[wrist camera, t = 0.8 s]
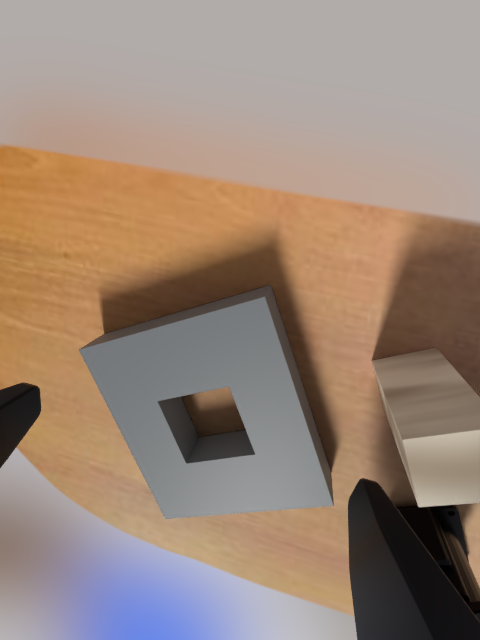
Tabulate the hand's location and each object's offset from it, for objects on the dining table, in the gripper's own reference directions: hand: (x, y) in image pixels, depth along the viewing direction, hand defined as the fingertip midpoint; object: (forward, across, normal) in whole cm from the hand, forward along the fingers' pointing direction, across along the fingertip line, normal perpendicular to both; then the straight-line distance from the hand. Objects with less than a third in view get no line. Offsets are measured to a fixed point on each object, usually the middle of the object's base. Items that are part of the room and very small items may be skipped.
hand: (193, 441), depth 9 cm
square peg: (+14, -12, +4) cm, 18 cm away
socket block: (+14, 0, +10) cm, 17 cm away
